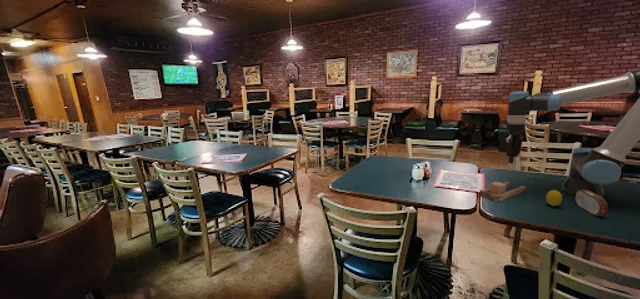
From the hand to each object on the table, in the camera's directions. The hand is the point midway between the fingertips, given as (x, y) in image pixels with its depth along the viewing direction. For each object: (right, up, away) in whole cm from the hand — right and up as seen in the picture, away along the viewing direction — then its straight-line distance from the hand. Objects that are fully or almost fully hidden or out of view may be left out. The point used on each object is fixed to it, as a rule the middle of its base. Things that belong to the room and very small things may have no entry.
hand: (511, 168), depth 138 cm
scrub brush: (+19, -17, -20) cm, 33 cm away
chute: (-4, -13, +1) cm, 14 cm away
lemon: (+8, -16, -15) cm, 24 cm away
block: (-8, -14, -1) cm, 16 cm away
